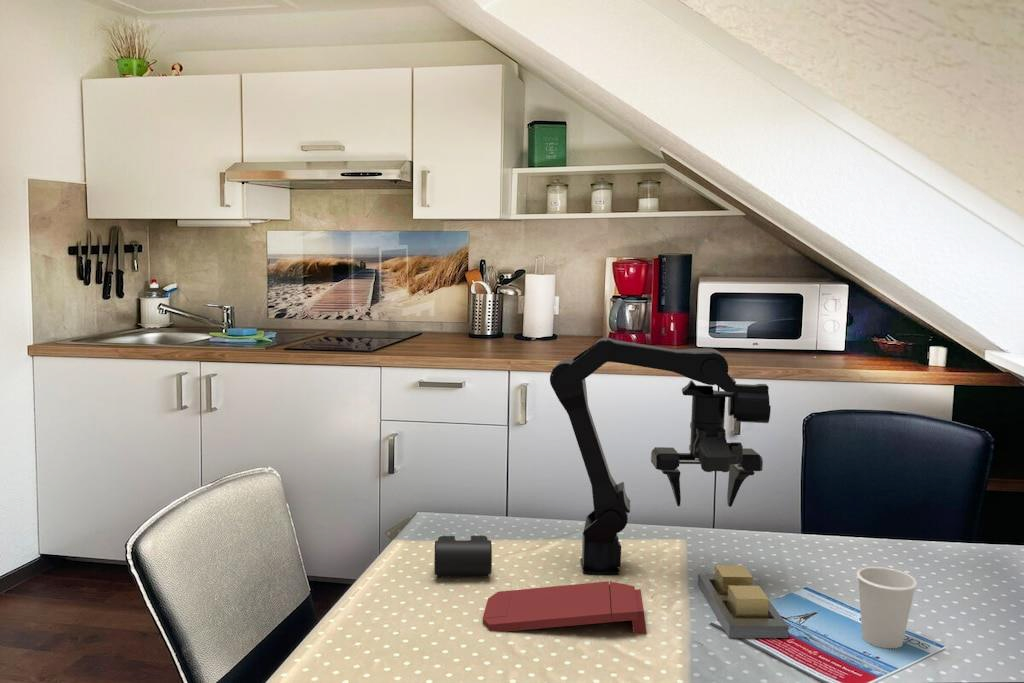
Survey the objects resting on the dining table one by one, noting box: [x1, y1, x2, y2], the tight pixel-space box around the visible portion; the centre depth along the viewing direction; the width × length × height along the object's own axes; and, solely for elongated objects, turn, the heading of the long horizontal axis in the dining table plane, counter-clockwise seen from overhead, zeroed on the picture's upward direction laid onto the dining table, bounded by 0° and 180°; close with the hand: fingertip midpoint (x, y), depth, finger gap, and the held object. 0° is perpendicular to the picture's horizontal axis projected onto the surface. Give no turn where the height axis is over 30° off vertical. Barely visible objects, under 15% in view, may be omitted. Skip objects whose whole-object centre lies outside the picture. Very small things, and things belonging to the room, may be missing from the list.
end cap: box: [433, 534, 493, 578], centre depth 147 cm, size 10×7×7 cm
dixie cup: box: [856, 566, 918, 650], centre depth 125 cm, size 8×8×10 cm
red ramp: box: [482, 580, 648, 635], centre depth 132 cm, size 12×5×25 cm
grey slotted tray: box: [697, 573, 789, 640], centre depth 135 cm, size 9×20×2 cm, turn 1°
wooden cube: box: [727, 585, 770, 619], centre depth 131 cm, size 5×5×5 cm
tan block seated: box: [713, 564, 754, 595], centre depth 139 cm, size 5×5×5 cm
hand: (703, 505), depth 148 cm, fingers open, 9 cm apart
